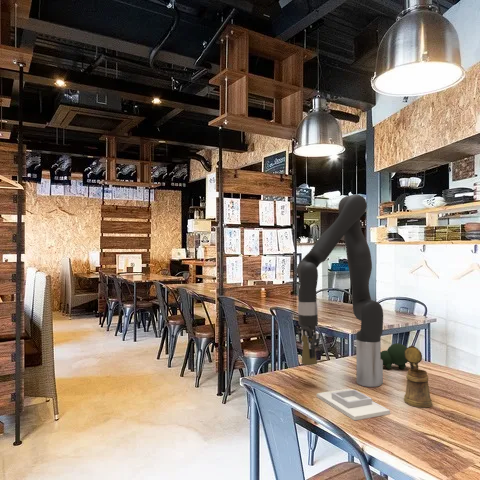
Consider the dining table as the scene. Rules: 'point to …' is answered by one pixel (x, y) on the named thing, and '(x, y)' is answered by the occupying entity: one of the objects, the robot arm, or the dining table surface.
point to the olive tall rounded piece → (307, 352)
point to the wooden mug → (416, 381)
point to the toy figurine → (394, 356)
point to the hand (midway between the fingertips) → (309, 356)
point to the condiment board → (353, 404)
